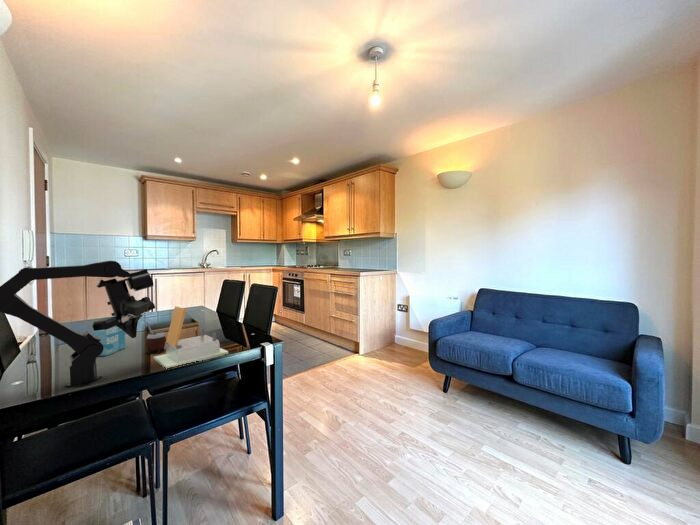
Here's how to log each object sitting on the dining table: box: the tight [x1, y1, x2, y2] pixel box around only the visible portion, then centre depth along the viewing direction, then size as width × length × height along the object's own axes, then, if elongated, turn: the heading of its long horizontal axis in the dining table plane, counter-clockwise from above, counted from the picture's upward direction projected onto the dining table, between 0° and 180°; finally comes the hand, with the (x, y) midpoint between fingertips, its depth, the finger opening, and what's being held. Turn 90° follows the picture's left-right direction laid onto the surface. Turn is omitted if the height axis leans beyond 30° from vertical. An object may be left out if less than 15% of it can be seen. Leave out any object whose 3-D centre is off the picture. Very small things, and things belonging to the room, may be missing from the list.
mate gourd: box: [139, 317, 167, 355], centre depth 124 cm, size 8×8×15 cm
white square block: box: [165, 327, 221, 363], centre depth 117 cm, size 15×15×8 cm
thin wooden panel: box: [165, 306, 187, 347], centre depth 113 cm, size 14×11×1 cm
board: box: [153, 347, 229, 370], centre depth 117 cm, size 22×17×1 cm
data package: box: [92, 326, 126, 357], centre depth 126 cm, size 12×4×12 cm, turn 4°
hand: (134, 337), depth 104 cm, fingers closed
